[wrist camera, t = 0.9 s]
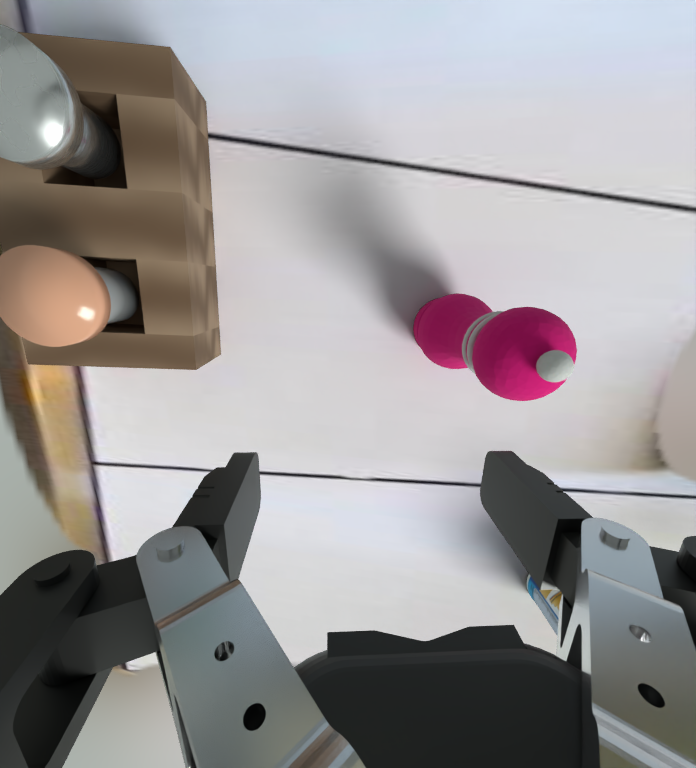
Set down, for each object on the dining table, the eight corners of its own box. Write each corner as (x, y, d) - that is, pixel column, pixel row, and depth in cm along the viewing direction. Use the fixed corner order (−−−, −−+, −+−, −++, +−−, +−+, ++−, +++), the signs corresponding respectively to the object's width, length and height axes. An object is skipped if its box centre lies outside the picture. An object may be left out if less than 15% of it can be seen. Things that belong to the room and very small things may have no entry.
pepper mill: (403, 355, 37) (484, 426, 18) (415, 288, 35) (519, 290, 16) (464, 362, 38) (605, 438, 19) (479, 297, 36) (653, 308, 17)
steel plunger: (36, 92, 24) (-79, 14, 17) (128, 99, 25) (51, 27, 18) (54, 190, 26) (-44, 155, 19) (139, 196, 26) (73, 164, 19)
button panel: (39, 87, 29) (-49, 25, 22) (205, 101, 30) (170, 47, 23) (85, 349, 35) (27, 364, 28) (220, 354, 36) (196, 369, 29)
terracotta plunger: (65, 253, 27) (-23, 241, 20) (146, 257, 28) (86, 247, 21) (79, 331, 29) (2, 344, 22) (155, 334, 29) (102, 348, 23)
